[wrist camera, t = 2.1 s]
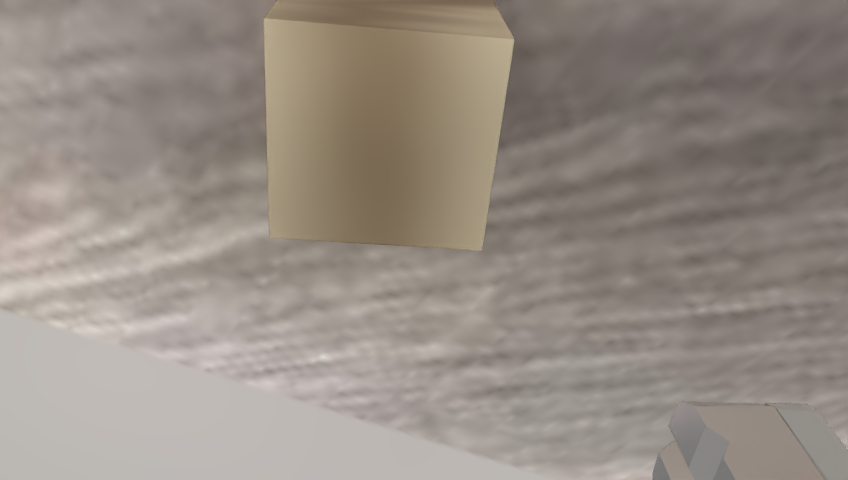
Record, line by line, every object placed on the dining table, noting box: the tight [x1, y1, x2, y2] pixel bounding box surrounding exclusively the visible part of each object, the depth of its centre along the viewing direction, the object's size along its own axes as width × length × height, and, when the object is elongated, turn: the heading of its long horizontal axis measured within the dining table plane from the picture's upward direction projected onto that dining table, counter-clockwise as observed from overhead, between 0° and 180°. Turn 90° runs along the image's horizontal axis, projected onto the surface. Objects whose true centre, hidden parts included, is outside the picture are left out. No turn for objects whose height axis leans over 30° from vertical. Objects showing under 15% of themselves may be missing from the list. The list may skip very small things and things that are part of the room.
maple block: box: [264, 0, 515, 251], centre depth 18 cm, size 5×5×6 cm
